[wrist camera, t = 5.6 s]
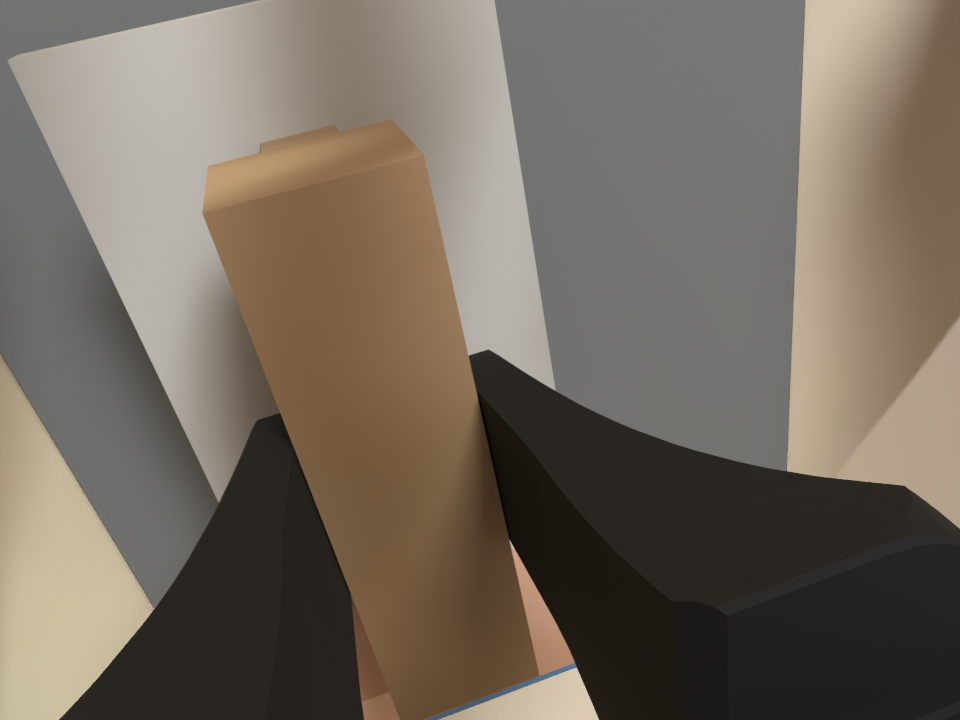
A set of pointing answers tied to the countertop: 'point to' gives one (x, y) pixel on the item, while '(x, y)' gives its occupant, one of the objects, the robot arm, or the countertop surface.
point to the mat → (554, 230)
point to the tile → (550, 662)
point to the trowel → (328, 282)
